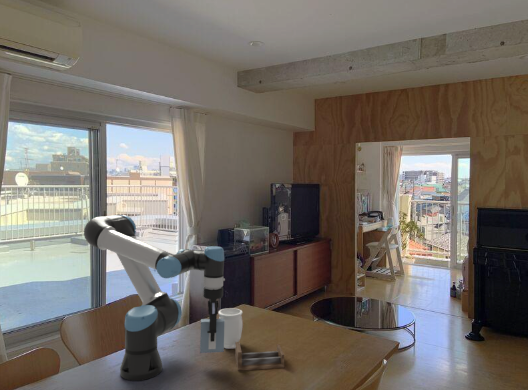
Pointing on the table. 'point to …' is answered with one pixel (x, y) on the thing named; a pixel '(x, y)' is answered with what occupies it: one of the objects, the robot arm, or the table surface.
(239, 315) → the jar
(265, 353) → the wooden rod frame
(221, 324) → the blue-gray rectangular block
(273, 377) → the table surface
